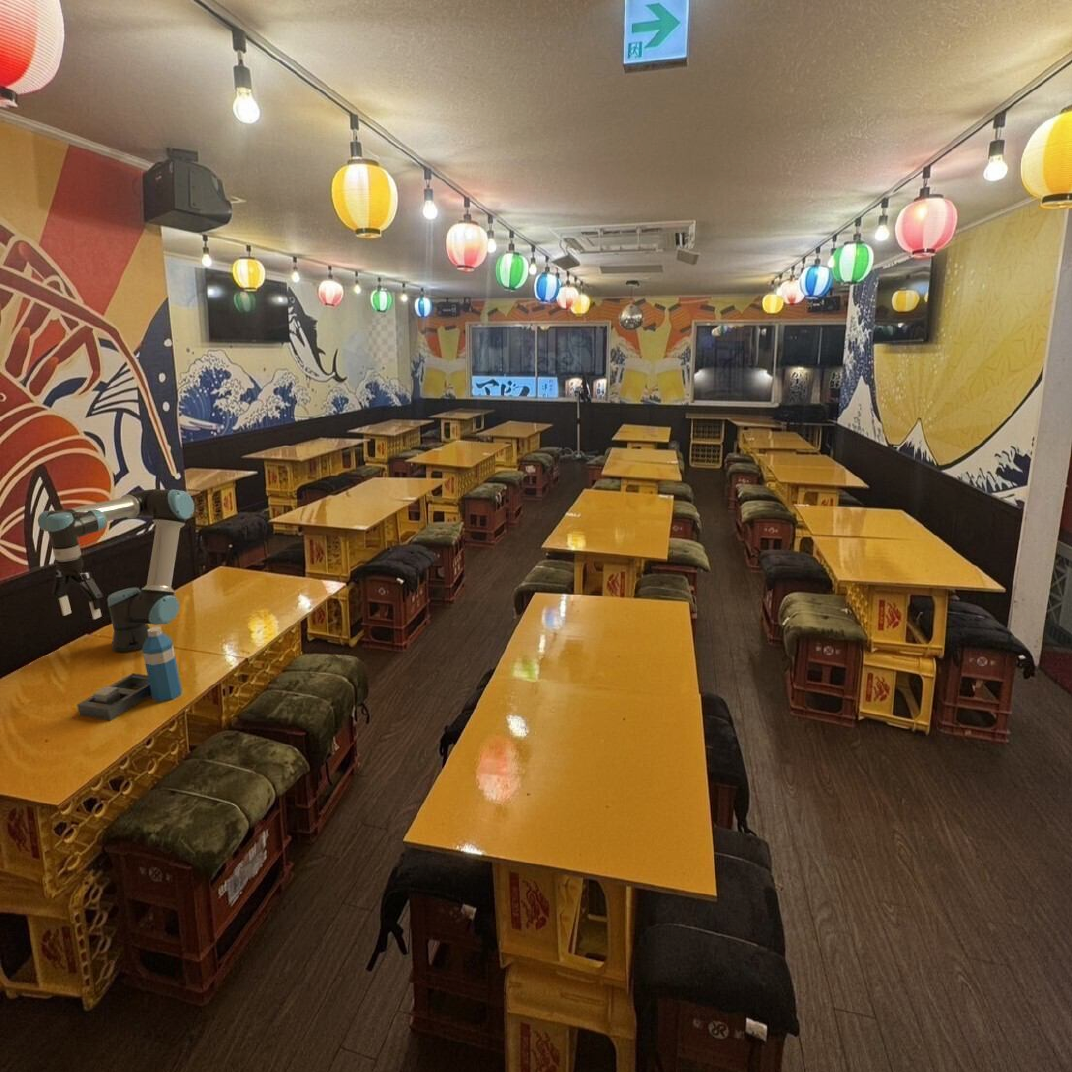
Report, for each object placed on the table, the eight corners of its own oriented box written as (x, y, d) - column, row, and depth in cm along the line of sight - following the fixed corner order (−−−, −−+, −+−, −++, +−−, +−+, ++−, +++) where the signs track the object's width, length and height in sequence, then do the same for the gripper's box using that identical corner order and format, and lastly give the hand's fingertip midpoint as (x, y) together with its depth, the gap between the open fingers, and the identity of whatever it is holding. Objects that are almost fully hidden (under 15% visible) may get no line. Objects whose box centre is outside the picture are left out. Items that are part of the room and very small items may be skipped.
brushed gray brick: (110, 704, 230) (106, 685, 228) (122, 706, 229) (118, 687, 227) (97, 712, 226) (93, 693, 224) (109, 713, 224) (105, 695, 222)
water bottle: (177, 685, 241) (164, 621, 234) (186, 694, 235) (173, 628, 228) (148, 695, 235) (134, 629, 228) (157, 705, 229) (143, 637, 222)
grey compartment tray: (134, 683, 244) (132, 673, 243) (163, 687, 240) (161, 677, 239) (79, 715, 224) (77, 704, 223) (110, 720, 220) (108, 709, 219)
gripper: (30, 559, 230) (44, 616, 236) (87, 564, 223) (100, 623, 229) (51, 552, 237) (64, 608, 243) (106, 557, 230) (119, 615, 236)
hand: (82, 616), depth 236 cm, fingers open, 13 cm apart
